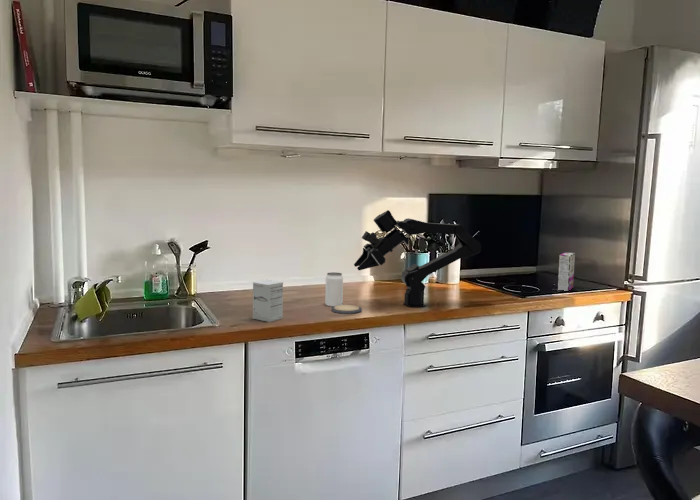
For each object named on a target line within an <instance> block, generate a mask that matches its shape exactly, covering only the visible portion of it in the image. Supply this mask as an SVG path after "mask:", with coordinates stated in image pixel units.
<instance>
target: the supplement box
mask: <svg viewBox="0 0 700 500" xmlns="http://www.w3.org/2000/svg"><path fill="white" fill-rule="evenodd" d="M283 293H284V281H278V280H272V279H261V280H258V281H253V282H252V319H253V320H258V321H263V322H266V323H271V322H274V321H279V320H282V319H283V310H284V308H283V307H284V305H283V303H284V301H283V300H284V298H283V297H284V294H283Z"/></svg>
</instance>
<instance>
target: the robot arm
mask: <svg viewBox="0 0 700 500" xmlns="http://www.w3.org/2000/svg"><path fill="white" fill-rule="evenodd" d="M373 222H374V223H375V225H376V226H377V227H378V228H379V230H380V231H381V233H386V234H385V235H384V236H383V237H382V236H380V237H379V238H377V233H375V232H369V231H367V230H366V231H365V232H364V233H363V235H362V236H361V239H363V240H364V241H365V242H368V243H366V244H365V245H364V246H363V248H362V254H361V255H360V256H359V257H358V259H357V260H356V261H355V263H353V265H354V267H355V268H356V267H357V268H356V269H357V270H358V271H363V270H366V269H370V268H374V267H379V266H382V265H384V264H385V263H386V257H385V256H386V255H388V254H389V253H392V252H393V250H394V249H395V248H396V247H398V246H399V245H400V244H402V243H404V244H405V245H409V243H410V242H409V241H410V237H409V236H406V235H405V234H407V235H411V236H413V235H420V234H443V235H445V234H446V235H454V236H455V237H456V239H457V241H458V242H459V243H458V244H457V245H455V247H454V248H453V249H451V250H449V251H448V252H445V253H443V254H442V255H440V256H438V257H436V258H434V259H432V260H430V261H428V262H426V263H424V264H423V265H417V264H416V263H413V264H412V265H410V266H408V267H405V269H404V270H403V271H402V272H401V275H400V279H401V281H402V282H403V283H404V284H405V286H406V287H407V288H406V287H405V288H406V289H405V293H404V302H403V305H405V306H408V307H410V308H418V307H426V306H427V305H426V304H425V288H426V285H425V284H424V283H423V281H424V280H425V279H426V278H427V277H428V276H429V275H431V274H433V273H435V272H437V271H439V270H440V269H444V268H445V267H447V266H449V265H450V264H452V263H455V262H456V261H459V260H460V259H464V258H469V257H472V256H476V255H478V254H479V253H480V252H481V251H482V243H481V242H480V240H478V239H475V238H474V237H473V236H472V235H471V234H470V233H469V232H468V231H467V230H466V229H465V228H464V227H465V226H463V225H462V224H459V223H454V224H453V223H438V222H437V223H436V222H425V221H421V220H417V219H413V218H405V219H404V220H396V219H395V217H394V216H393V214H392V213H391V211H390V210H388V209H387V210H386V211H384V212H382V213H380V214H378V215H377V216H376V217H375V218H374V219H373ZM398 228H399V229H401V230H400V231H399V229H398Z"/></svg>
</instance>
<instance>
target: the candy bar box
mask: <svg viewBox="0 0 700 500" xmlns="http://www.w3.org/2000/svg"><path fill="white" fill-rule="evenodd" d="M575 260H576V253H575V252H563V253H561V254H559V255H558V274H557V291H558V290H564V291H569V290H571V289H572V288H573V289H574V282H575V281H574V279H575V262H576V261H575ZM573 289H572V290H573ZM572 290H571V291H572ZM569 292H570V291H569Z"/></svg>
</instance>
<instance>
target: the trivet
mask: <svg viewBox="0 0 700 500" xmlns="http://www.w3.org/2000/svg"><path fill="white" fill-rule="evenodd" d="M362 311H363V308H362V307H360V306H359V305H353V304H342V305H338V306H334V307H331V312H333V313H336V314H340V315H356V314H359V313H362Z"/></svg>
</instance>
